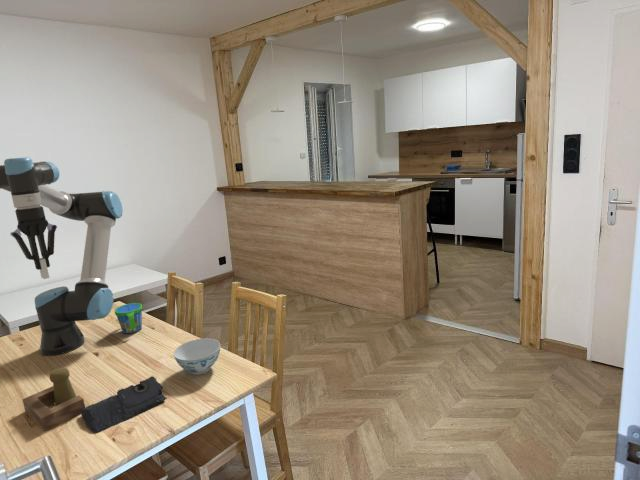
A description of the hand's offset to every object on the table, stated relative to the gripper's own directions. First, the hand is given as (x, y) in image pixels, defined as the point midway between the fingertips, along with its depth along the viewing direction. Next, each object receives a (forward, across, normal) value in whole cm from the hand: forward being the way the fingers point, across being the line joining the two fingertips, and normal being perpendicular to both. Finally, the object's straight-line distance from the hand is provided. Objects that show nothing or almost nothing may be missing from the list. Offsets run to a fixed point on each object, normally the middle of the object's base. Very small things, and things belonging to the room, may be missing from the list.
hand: (45, 277), depth 145 cm
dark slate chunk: (+35, +2, -38) cm, 52 cm away
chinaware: (+35, +27, -40) cm, 59 cm away
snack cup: (+35, +30, +13) cm, 48 cm away
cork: (+35, -8, -20) cm, 41 cm away
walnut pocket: (+34, -12, -22) cm, 43 cm away
